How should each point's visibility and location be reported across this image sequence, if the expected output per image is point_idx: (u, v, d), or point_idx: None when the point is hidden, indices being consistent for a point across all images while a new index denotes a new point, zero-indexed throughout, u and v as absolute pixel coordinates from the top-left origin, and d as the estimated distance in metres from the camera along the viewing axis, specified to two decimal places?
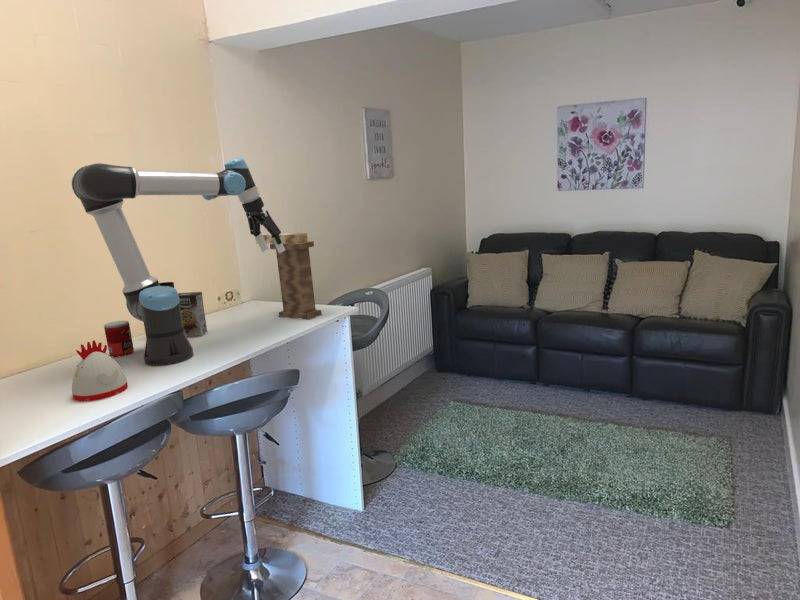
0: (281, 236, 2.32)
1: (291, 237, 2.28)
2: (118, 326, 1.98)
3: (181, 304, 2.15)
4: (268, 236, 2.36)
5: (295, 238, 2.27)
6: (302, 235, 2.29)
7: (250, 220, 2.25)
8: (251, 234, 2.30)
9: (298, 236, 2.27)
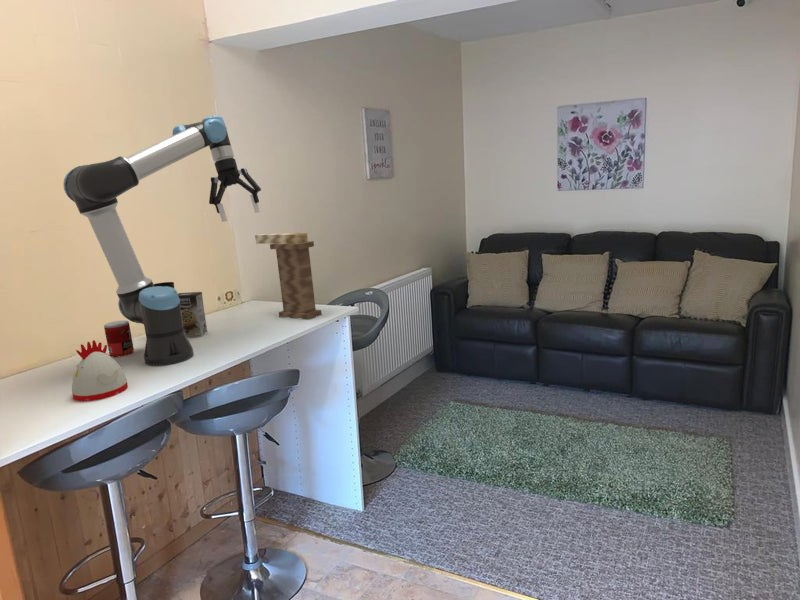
0: (281, 236, 2.32)
1: (291, 237, 2.28)
2: (118, 326, 1.98)
3: (181, 304, 2.15)
4: (268, 236, 2.36)
5: (295, 238, 2.27)
6: (302, 235, 2.29)
7: (214, 186, 2.15)
8: None
9: (298, 236, 2.27)
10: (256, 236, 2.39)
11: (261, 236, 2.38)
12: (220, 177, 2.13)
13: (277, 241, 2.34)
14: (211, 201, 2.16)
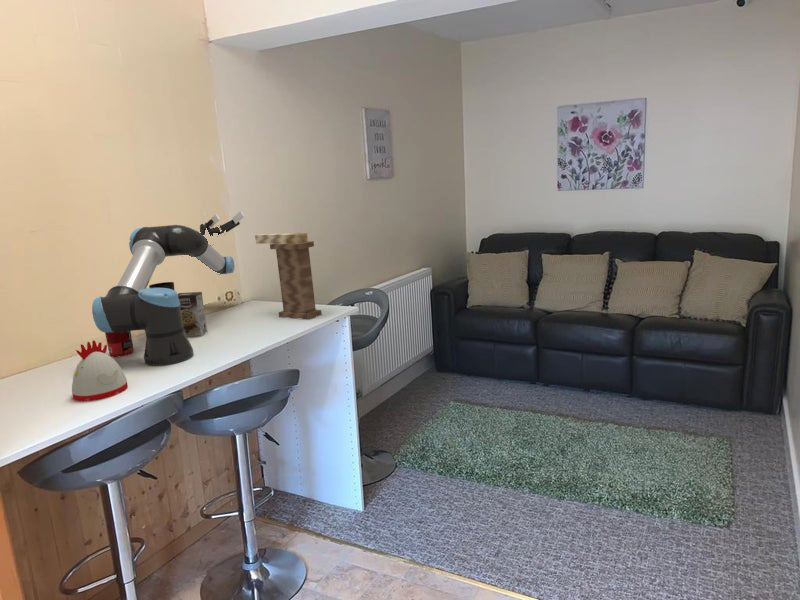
0: (281, 236, 2.32)
1: (291, 237, 2.28)
2: None
3: (181, 304, 2.15)
4: (268, 236, 2.36)
5: (295, 238, 2.27)
6: (302, 235, 2.29)
7: (226, 230, 2.61)
8: None
9: (298, 236, 2.27)
10: (256, 236, 2.39)
11: (261, 236, 2.38)
12: None
13: (277, 241, 2.34)
14: (237, 224, 2.60)
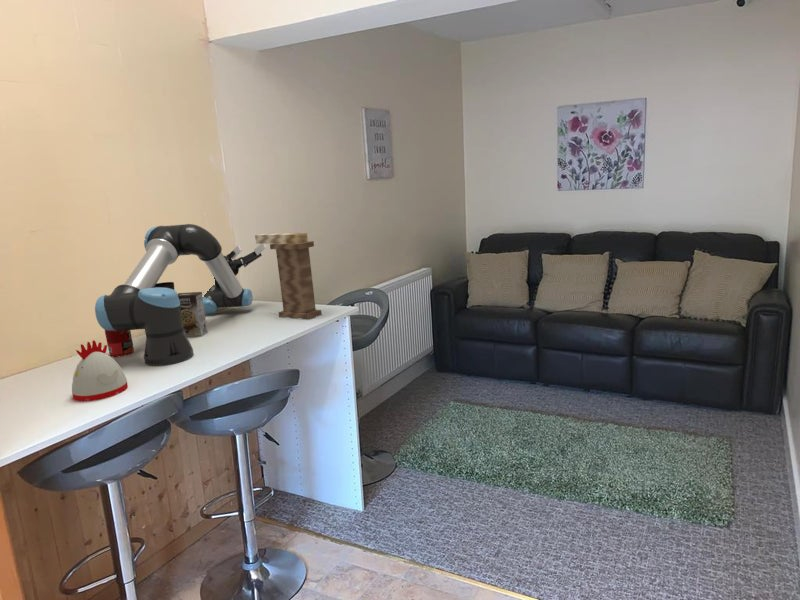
0: (281, 236, 2.32)
1: (291, 237, 2.28)
2: None
3: (181, 304, 2.15)
4: (268, 236, 2.36)
5: (295, 238, 2.27)
6: (302, 235, 2.29)
7: (248, 262, 2.57)
8: (261, 255, 2.56)
9: (298, 236, 2.27)
10: (256, 236, 2.39)
11: (261, 236, 2.38)
12: None
13: (277, 241, 2.34)
14: (259, 256, 2.56)
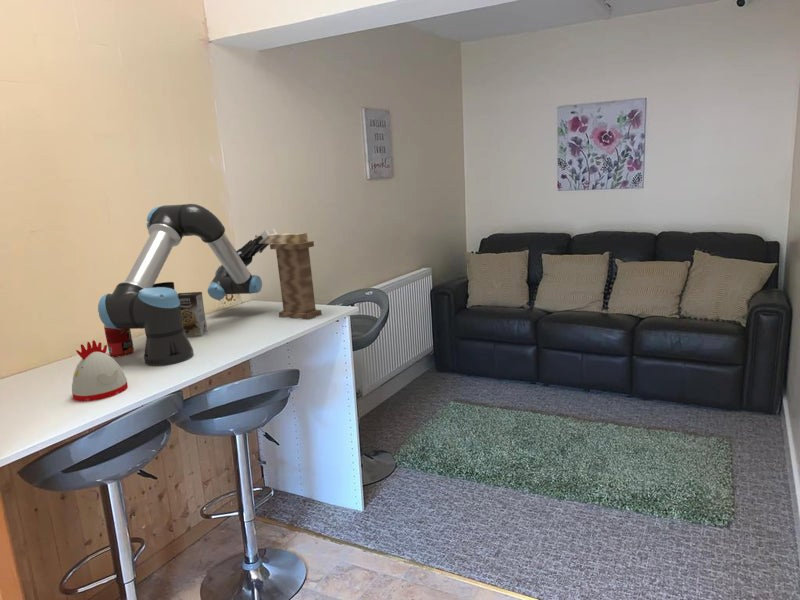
0: (281, 236, 2.32)
1: (291, 237, 2.28)
2: None
3: (181, 304, 2.15)
4: None
5: (295, 238, 2.27)
6: (302, 235, 2.29)
7: (261, 249, 2.49)
8: None
9: (298, 236, 2.27)
10: (256, 236, 2.39)
11: None
12: None
13: (277, 241, 2.34)
14: None
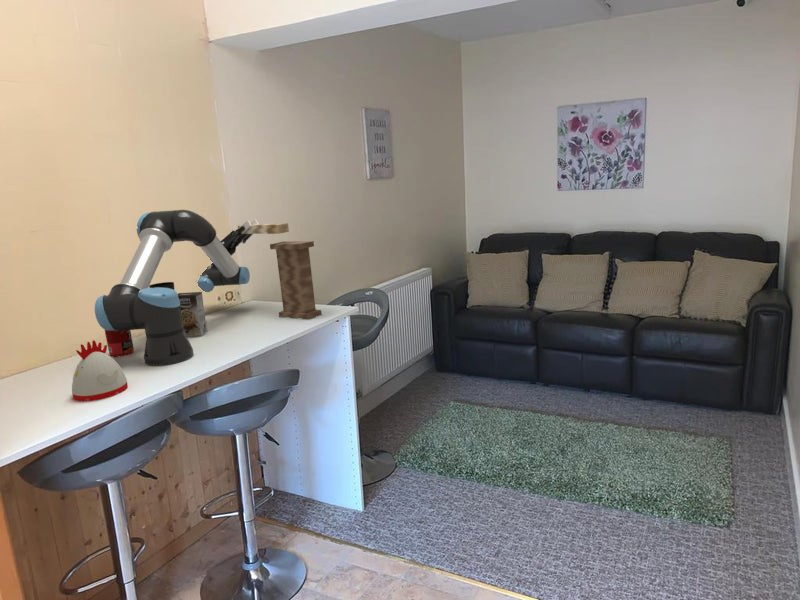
0: (262, 227, 2.36)
1: (272, 227, 2.32)
2: None
3: (181, 304, 2.15)
4: None
5: (276, 228, 2.31)
6: (283, 225, 2.33)
7: (244, 239, 2.53)
8: None
9: (279, 226, 2.31)
10: (239, 226, 2.44)
11: None
12: None
13: (259, 231, 2.38)
14: None
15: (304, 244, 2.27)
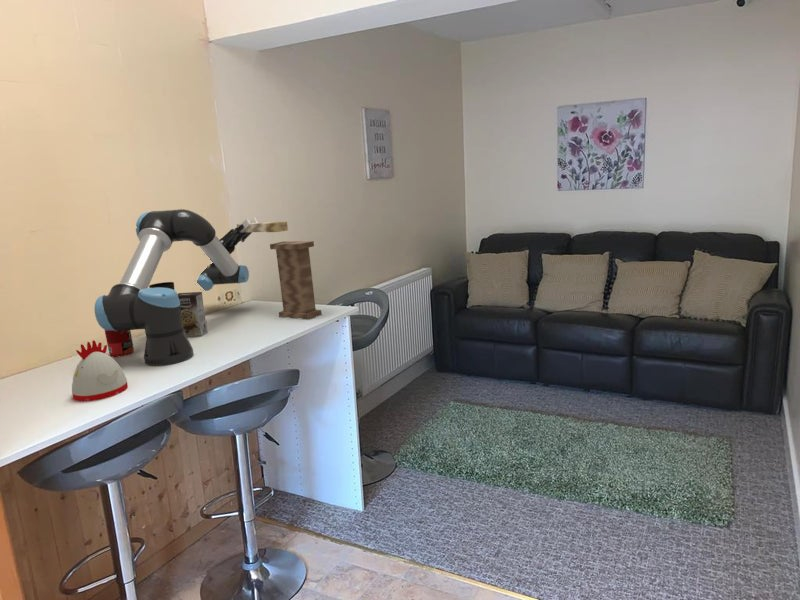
0: (261, 225, 2.37)
1: (271, 226, 2.32)
2: None
3: (181, 304, 2.15)
4: None
5: (275, 226, 2.31)
6: (282, 224, 2.33)
7: (243, 238, 2.53)
8: None
9: (278, 224, 2.31)
10: (238, 225, 2.44)
11: None
12: None
13: (258, 229, 2.38)
14: (250, 232, 2.50)
15: (304, 244, 2.27)
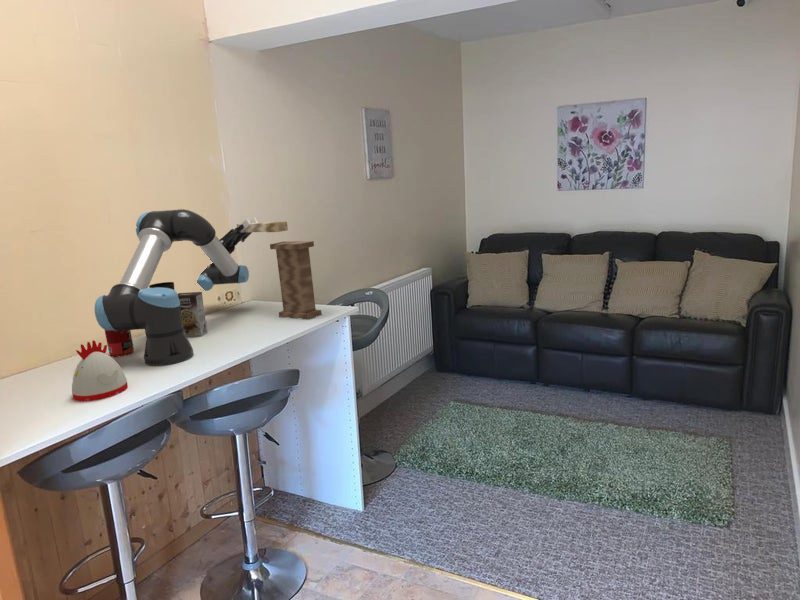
0: (261, 225, 2.37)
1: (271, 226, 2.32)
2: None
3: (181, 304, 2.15)
4: None
5: (275, 226, 2.31)
6: (282, 224, 2.33)
7: (243, 238, 2.53)
8: None
9: (278, 224, 2.31)
10: (238, 225, 2.44)
11: None
12: None
13: (258, 229, 2.38)
14: (250, 232, 2.50)
15: (304, 244, 2.27)
